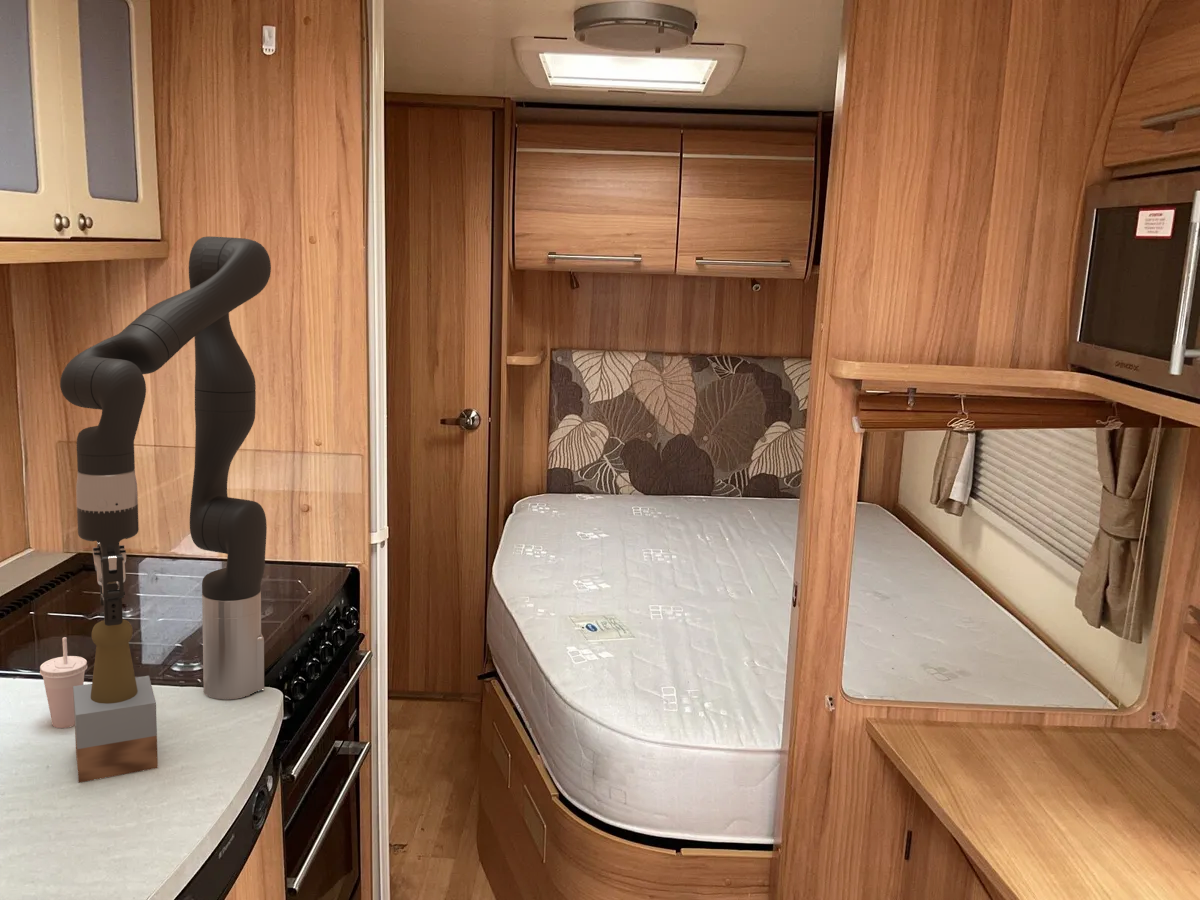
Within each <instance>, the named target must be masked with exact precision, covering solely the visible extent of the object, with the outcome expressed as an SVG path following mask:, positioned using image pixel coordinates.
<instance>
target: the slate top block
mask: <svg viewBox="0 0 1200 900" xmlns="http://www.w3.org/2000/svg"><path fill="white" fill-rule="evenodd" d="M135 679H136V685H137V690H138V692H137V694H136V695H135V696H134V697H132V698H131V699H128V700H126V701H122V702H118V703H109V704H106V703H97V702H94V701H92V699H91V689H92V683H87V684H83V685H79V686H73V694H74V718H75V725H74V731H75V730H76V741H77V749H81V748H87V747H93V746H99V745H105V744H111V743H116V742H122V741H128V740H134V739H140V738H146V737H152V736H157V737H158V728H157V727H158V726H157V725H158V724H157V720H158V719H157V700H156V697H155V693H154V690H153V685H152V682H151V678H150V675H143V676H138V677H137V676H135Z"/></svg>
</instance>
